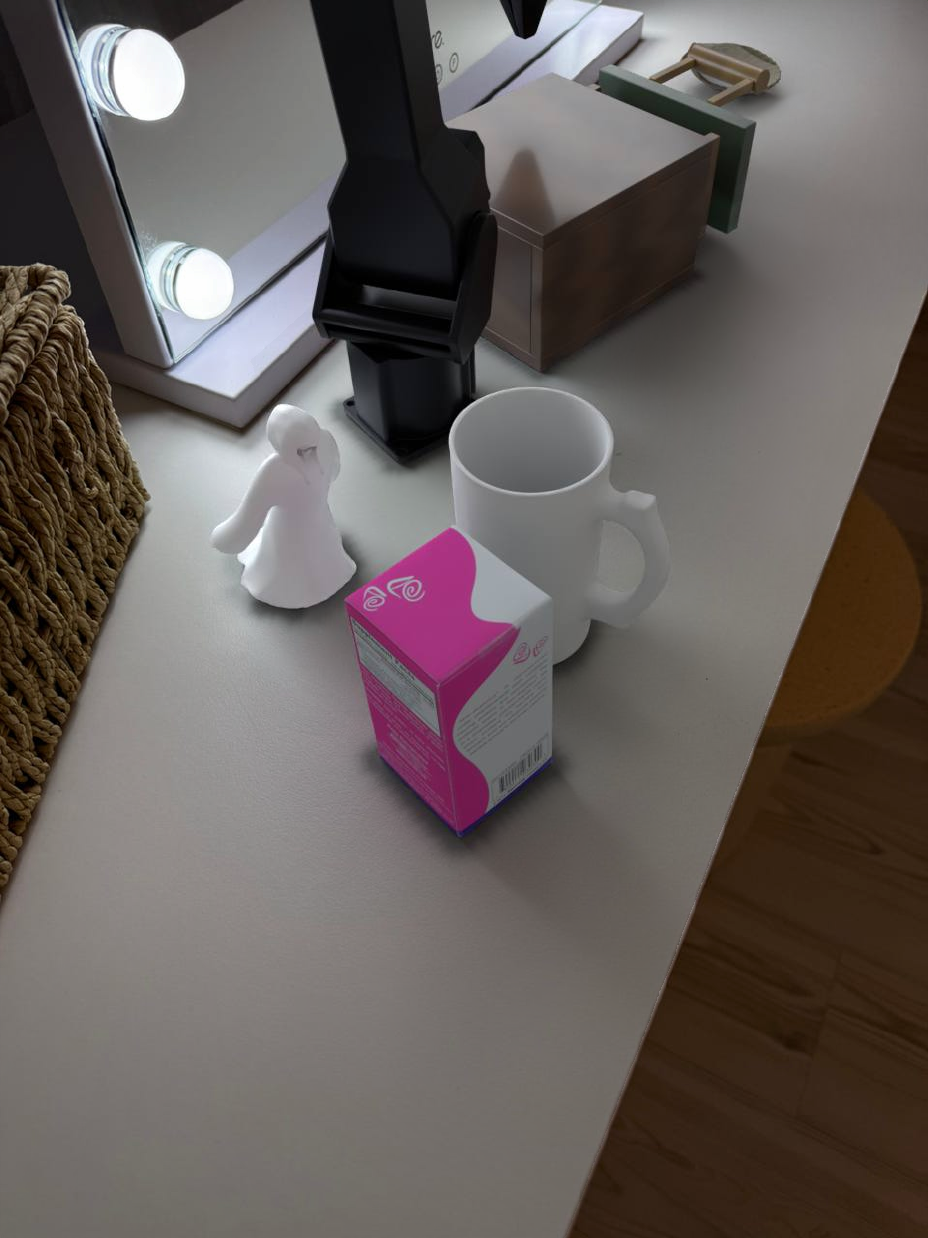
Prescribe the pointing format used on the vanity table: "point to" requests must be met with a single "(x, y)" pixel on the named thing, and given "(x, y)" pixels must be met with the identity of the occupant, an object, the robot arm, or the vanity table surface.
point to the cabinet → (583, 212)
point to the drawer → (701, 120)
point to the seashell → (743, 54)
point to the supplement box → (457, 675)
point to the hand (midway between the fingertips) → (525, 35)
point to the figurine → (290, 517)
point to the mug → (552, 504)
